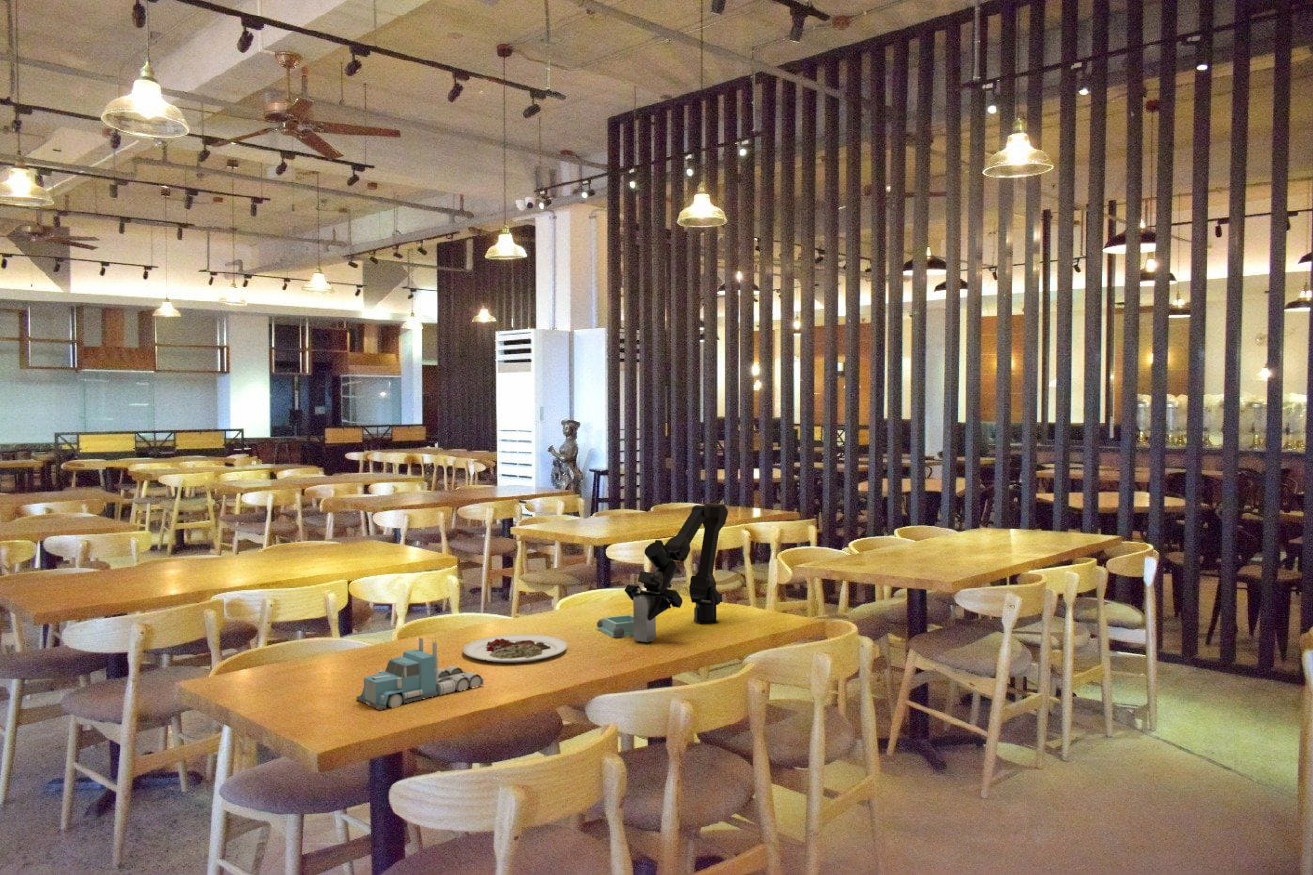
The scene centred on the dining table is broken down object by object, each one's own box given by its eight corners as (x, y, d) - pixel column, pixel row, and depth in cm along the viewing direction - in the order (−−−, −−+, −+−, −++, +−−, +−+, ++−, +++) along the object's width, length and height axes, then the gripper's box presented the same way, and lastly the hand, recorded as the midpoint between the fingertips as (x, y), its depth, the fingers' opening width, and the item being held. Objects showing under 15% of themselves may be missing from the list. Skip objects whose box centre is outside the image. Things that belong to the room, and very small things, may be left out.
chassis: (631, 625, 312) (631, 613, 312) (650, 634, 300) (650, 621, 300) (596, 629, 306) (596, 617, 306) (614, 638, 294) (614, 625, 294)
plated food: (548, 669, 261) (548, 657, 261) (445, 663, 267) (445, 651, 267) (579, 642, 290) (579, 631, 290) (486, 638, 296) (485, 627, 296)
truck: (355, 701, 233) (354, 640, 232) (458, 678, 253) (457, 621, 252) (379, 713, 224) (378, 649, 224) (483, 687, 244) (483, 629, 244)
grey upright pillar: (642, 636, 293) (642, 594, 293) (655, 639, 290) (655, 596, 290) (633, 639, 290) (633, 597, 289) (646, 642, 287) (646, 599, 286)
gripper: (627, 558, 298) (605, 599, 289) (676, 563, 287) (655, 606, 278) (643, 579, 304) (622, 620, 296) (691, 585, 293) (671, 628, 285)
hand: (641, 618), depth 289 cm, fingers closed on grey upright pillar, 5 cm apart
